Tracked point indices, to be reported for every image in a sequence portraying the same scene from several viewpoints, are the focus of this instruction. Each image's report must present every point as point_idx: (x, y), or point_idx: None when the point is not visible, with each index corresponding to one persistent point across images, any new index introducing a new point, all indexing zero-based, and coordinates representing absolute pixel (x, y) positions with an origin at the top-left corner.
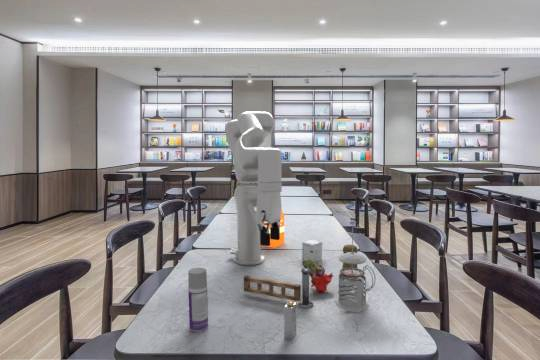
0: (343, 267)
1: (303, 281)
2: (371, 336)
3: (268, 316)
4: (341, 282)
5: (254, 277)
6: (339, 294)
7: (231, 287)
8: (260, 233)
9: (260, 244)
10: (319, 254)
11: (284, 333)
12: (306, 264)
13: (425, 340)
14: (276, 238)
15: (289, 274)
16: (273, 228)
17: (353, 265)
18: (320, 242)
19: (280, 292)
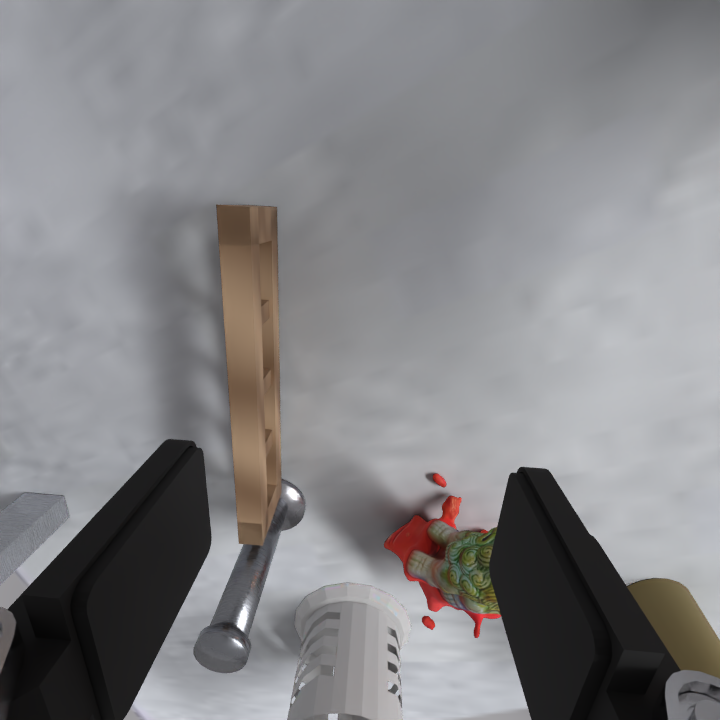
0: (663, 627)
1: (225, 588)
2: (176, 669)
3: (118, 404)
4: (298, 704)
5: (243, 285)
6: (358, 617)
7: (315, 68)
8: (41, 583)
9: (168, 441)
10: None
11: (10, 504)
12: (465, 573)
13: None
14: (498, 560)
15: (622, 352)
16: (577, 693)
17: None
18: None
19: (271, 420)
